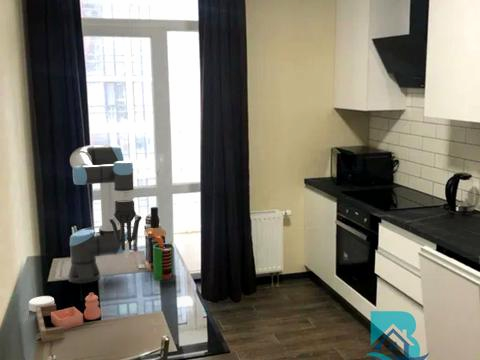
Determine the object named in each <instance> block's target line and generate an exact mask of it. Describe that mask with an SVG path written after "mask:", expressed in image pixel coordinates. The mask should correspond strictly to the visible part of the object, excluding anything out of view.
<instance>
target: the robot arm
mask: <svg viewBox="0 0 480 360" xmlns="http://www.w3.org/2000/svg"><path fill="white" fill-rule="evenodd" d="M69 163H70V167H71V168H72V181H73V184H74V185H76V186H77V185H78V186H79V185H80V186H81V185H82V186H83V185H93V184H94V185H95V184H99V186H100V189H99V190H100V192H99V193H100V211H101V212H100V213H101V226H99V227H98V232H96V231H95V229H92V228H91V229H83V230H78V231H76V232H74V233H72V234H71V235H70V237H69V247H70V267H69V271H68V274H67V280H68V282H69V283H73V284H89V283H93V282H96V281H99V280H100V279H101V276H102V275H101V270H100V268H99V265H98V263H97V257H103V256H104V257H105V256H111V255H112V256H113V255H114V256H117V255H119V254H123V256H124V259H126V260H127V259H130V250H132V247H133V246H132V243H133V241H135V240H136V239H137V234H138V230H139V225H140V221H141V220H142V216H140V215H138V214H137V212H136V210H135V200H134V199H135V192H134V168H133V167H134V166H133V165H134V164H133V162H132V161H130V160H124V155H123V151H122V148H121V147H120V145H119V144H98V145H97V144H95V145H93V144H92V145H89V144H88V145H84V146H81V147H78V148H77V149H75V150H74V151H73V152H72V153H71V155H70V156H69ZM133 220H134V221H133ZM132 222H134V224H133V228H132ZM125 227H126V229H125Z"/></svg>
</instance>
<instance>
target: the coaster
mask: <svg viewBox="0 0 480 360" xmlns="http://www.w3.org/2000/svg"><path fill="white" fill-rule="evenodd" d="M50 304H55V299H54V297H52V296H50V295H42V296H36V297H33V298H32V299H30V300H29V301H28V310H29V311H30V312H34V313H36V307H37V306H44V305H50Z"/></svg>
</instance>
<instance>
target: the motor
mask: <svg viewBox="0 0 480 360" xmlns="http://www.w3.org/2000/svg"><path fill="white" fill-rule="evenodd" d="M155 241H158V242H159V244H155V245H154V246H153V267H154V271H153V279H154V280H157V281H163V280H169V279H171V278H173V273H174V271H173V269H174V265H173V258H174V257H173V256H174V255H173V244H172V243H170V242H169V243H167V242H165V243H163V240H162V237H160V236H157V237H155Z"/></svg>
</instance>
